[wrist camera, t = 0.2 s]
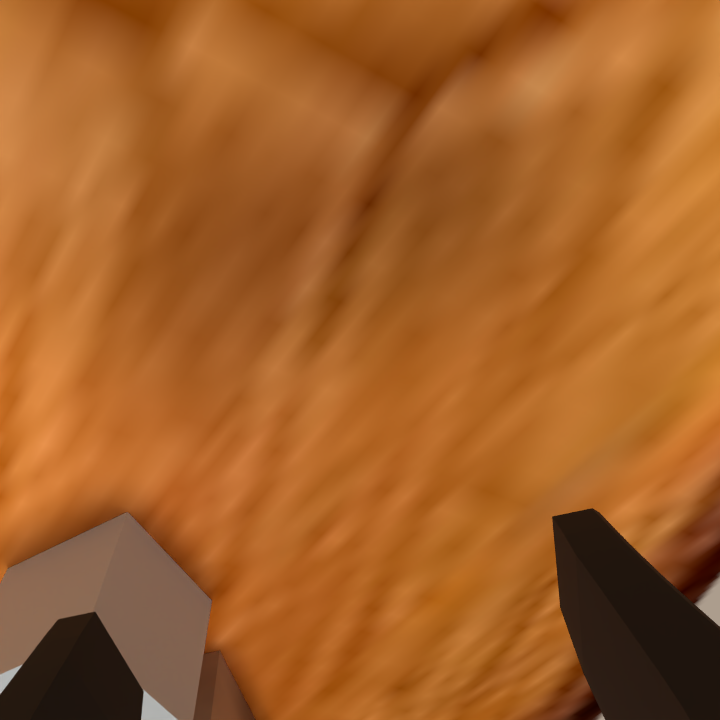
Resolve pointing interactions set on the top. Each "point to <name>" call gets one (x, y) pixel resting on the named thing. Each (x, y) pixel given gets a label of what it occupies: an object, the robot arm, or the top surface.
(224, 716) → the walnut slab
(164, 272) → the top surface
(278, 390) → the top surface
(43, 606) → the slate cube
